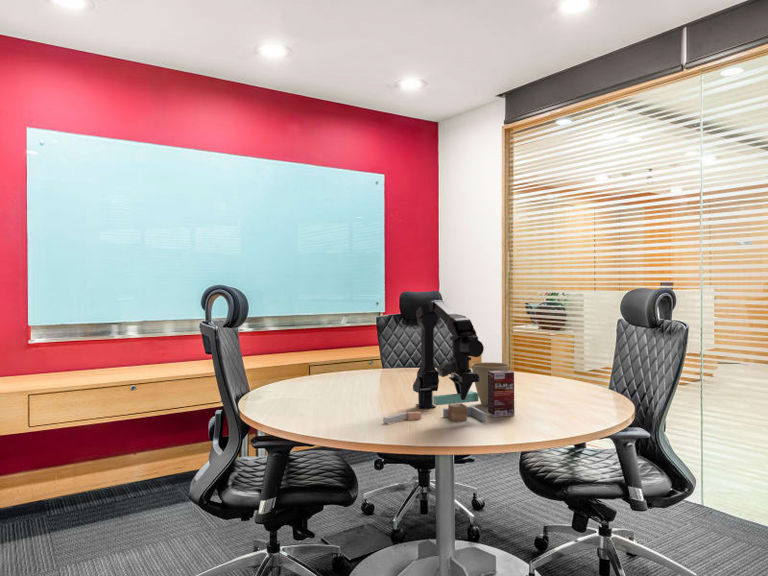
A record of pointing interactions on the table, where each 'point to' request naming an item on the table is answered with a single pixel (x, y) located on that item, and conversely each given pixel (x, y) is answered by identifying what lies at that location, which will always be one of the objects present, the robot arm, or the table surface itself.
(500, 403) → the supplement box
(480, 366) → the plant pot
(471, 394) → the crook
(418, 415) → the offcut
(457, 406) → the block
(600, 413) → the table surface
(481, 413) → the gray angle bracket
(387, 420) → the stick
